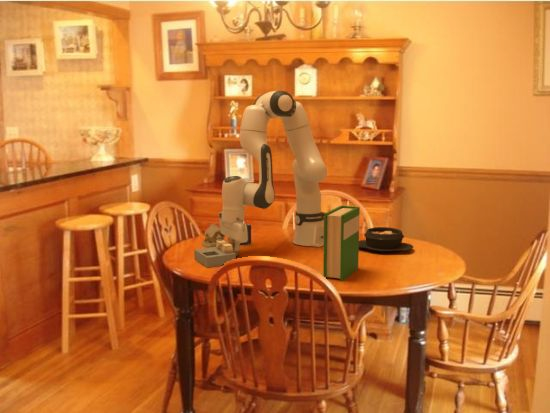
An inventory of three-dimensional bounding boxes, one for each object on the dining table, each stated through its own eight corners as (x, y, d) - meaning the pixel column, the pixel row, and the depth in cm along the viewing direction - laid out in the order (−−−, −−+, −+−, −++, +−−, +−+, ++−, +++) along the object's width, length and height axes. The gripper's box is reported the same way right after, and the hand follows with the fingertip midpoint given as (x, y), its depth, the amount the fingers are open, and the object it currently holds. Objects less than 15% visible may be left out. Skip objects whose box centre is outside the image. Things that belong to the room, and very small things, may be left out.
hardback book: (342, 281, 206) (343, 215, 201) (323, 278, 209) (324, 213, 204) (358, 268, 221) (359, 207, 217) (339, 266, 224) (341, 205, 220)
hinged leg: (215, 247, 238) (215, 240, 237) (222, 246, 239) (222, 239, 238) (225, 253, 228) (225, 246, 227) (232, 252, 229) (232, 245, 228)
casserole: (350, 252, 245) (350, 233, 243) (359, 242, 262) (359, 224, 260) (410, 257, 236) (411, 237, 235) (415, 246, 254) (416, 228, 252)
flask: (231, 246, 256) (231, 222, 254) (230, 244, 259) (229, 221, 257) (251, 244, 259) (251, 220, 257) (250, 242, 262) (249, 219, 260)
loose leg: (236, 253, 242) (235, 234, 241) (240, 255, 239) (239, 236, 237) (228, 254, 240) (227, 236, 239) (231, 256, 237) (231, 237, 236)
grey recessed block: (221, 255, 240) (221, 246, 240) (235, 263, 228) (235, 253, 228) (194, 259, 235) (194, 249, 234) (207, 267, 223) (207, 257, 222)
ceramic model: (198, 243, 262) (198, 221, 260) (222, 240, 267) (221, 219, 265) (208, 250, 249) (208, 227, 248) (232, 247, 254) (232, 225, 252)
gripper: (251, 219, 229) (252, 253, 232) (230, 211, 247) (230, 242, 249) (237, 221, 226) (237, 255, 229) (216, 212, 244) (217, 244, 246)
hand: (234, 248), depth 239 cm, fingers closed on loose leg, 4 cm apart
